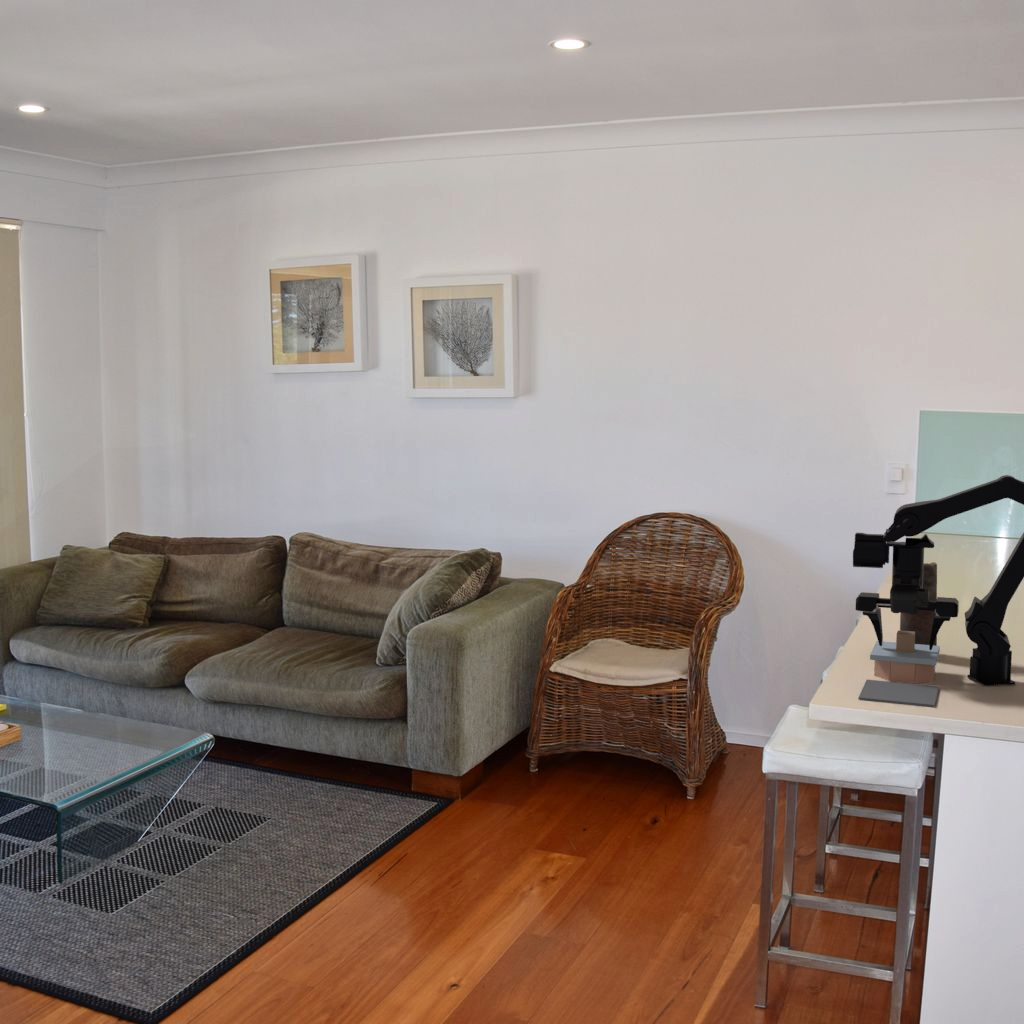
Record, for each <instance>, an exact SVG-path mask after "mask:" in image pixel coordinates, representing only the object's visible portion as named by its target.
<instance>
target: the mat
mask: <svg viewBox="0 0 1024 1024" xmlns="http://www.w3.org/2000/svg"><path fill="white" fill-rule="evenodd" d="M938 691H939V685H930V684H921V683H907V682H896V681H889V680H875V679H866V680H865V683H864V685H863V687H862V689H861V691H860V693H859V695H858V700H859V699H860V701H870V702H879V703H880V702H881V703H891V704H900V705H909V706H919V707H920V706H921V707H931V708H935V706H936V701H937V698H938Z"/></svg>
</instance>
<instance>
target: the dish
mask: <svg viewBox="0 0 1024 1024" xmlns="http://www.w3.org/2000/svg"><path fill="white" fill-rule="evenodd" d="M873 671H874V676H876V677H878V678H880V679H884V680H885V681H888V682H899V683H910V684H921V683H927V681H928V682H932V681H933V682H934V680H935V677H936V665H927V664H915V663H903V662H892V661H880V660H874V669H873Z"/></svg>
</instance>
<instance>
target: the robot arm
mask: <svg viewBox="0 0 1024 1024" xmlns="http://www.w3.org/2000/svg"><path fill="white" fill-rule="evenodd" d="M1003 499H1009V500H1012V501H1014V502H1017V503H1019V504H1021V505H1023V506H1024V481H1022V480H1019V479H1017V478H1015V477H1014V476H1013V475H1010V474H1009V475H1008V474H1004V475H1002V476H1000V477H998V478H997V479H993V480H991V481H990V480H989V481H987V482H984V483H982V484H979V485H976V486H973V487H970V488H968V489H965V490H962V491H959V492H956V493H953V494H951V495H947V496H945V497H941V498H938V499H932V500H926V501H924V500H923V501H916V502H911V503H906V504H903V505H901V506H900V507H898V508H897V509H896V511H895V513H894V516H893V522H892V524H891V525H890V526H889V527H888V528H886V529H885V532H884V533H881V534H880V533H879V534H878V533H864V532H855V534H854V543H853V544H854V547H853V550H852V567H853V568H871V569H876V568H877V569H883V568H884V566H885V565H886V564H889V563H890V547H892V571H891V572H892V573H891V575H892V576H891V587H890V591H889V598H886V597H885V598H884V597H880V593H877V592H864V591H861V592H860V593H859V594H858V595H857V597H856V598H855V611H858V612H862V616H867V617H868V619H869V620H870V621H871V622H870V623H871V624H872V626H873V629H874V632H875V635H876V638H877V641H878V642H879V645H880V646H882V642H884V640H883V639H884V637H883V624H882V623H883V622H882V609H881V608H883V609H884V608H885V609H886V608H887V609H890V612H891V613H893V614H900V613H908V614H916V613H917V611H918V610H927V611H935V615H934V620H933V626H932V631H931V637H930V643H929V650H932V647H933V645H934V642H935V639H936V636H937V637H938V633H939V631H940V629H941V628H942V626H943V624H944V623H945V622H950V621H951V619H952V618H958V616H959V608H960V607H959V606H960V605H959V604H960V601H959V600H958V599H957V598H956V597H942V596H937V600H936V601H929V589H924V588H923V568H924V564H925V562H924V561H925V549H934V548H935V542H934V541H932V539H931V538H929V536H928V534H927V533H925V534H924V535H923V536H922V537H916V536H917V535H919V534H922V533H924V532H925V531H926V530H928V529H931V528H932V527H934V526H935V525H937V524H938V523H940V522H942V521H944V520H946V519H947V518H948V519H949V518H951V517H955V516H957V515H960V514H963V513H966V512H968V511H972V510H975V509H978V508H980V507H984V506H987V505H989V504H993V503H995V502H998V501H1001V500H1003ZM904 537H905V541H899V540H900V539H902V538H904ZM1023 579H1024V532H1023V533H1022V534H1021V535H1020V538H1019V540H1018V542H1017V543H1016V545H1015V546H1014V549H1013V550H1012V552H1011V553H1010V555H1009V557H1008V559H1007V561H1006V562H1005V564H1004V566H1003V567H1002V569H1001V571H1000V573H999V574H998V576H997V578H996V580H995V581H994V583H993V585H992V586H991V588H990V590H989V592H987V594H986V595H985V596H984V597H982V599H980V598H978V597H977V596H974V598H973V599H972V602H971V605H970V607H969V608H968V610H966V611H965V612H964V619H965V620H964V621H965V623H964V624H965V626H964V627H965V632H966V635H967V638H969V640H970V641H971V642H972V643H974V644H976V646H977V647H973V648H972V656H970V658H969V674H967V678H968V679H969V680H972V681H973V682H975V683H978V684H980V685H981V686H983V687H984V686H985V687H986V686H989V687H990V686H991V687H992V686H1008V685H1010V686H1011V685H1016V681H1015V680H1012V677H1011V676H1012V659H1013V658H1012V654H1013V651H1012V650H1010V649H1011V647H1012V646H1011V643H1010V640H1009V637H1008V634H1006V633H1005V632H1004V631H1003V630H1002V626H1003V623H1004V620H1005V616H1006V613H1007V609H1008V605H1009V604H1010V603H1011V601H1012V598H1013V597H1014V595H1015V593H1016V592H1017V590H1018V588H1019V586H1020V584H1021V583H1022V581H1023Z"/></svg>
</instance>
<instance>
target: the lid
mask: <svg viewBox="0 0 1024 1024" xmlns="http://www.w3.org/2000/svg"><path fill="white" fill-rule="evenodd" d="M895 641H896V642H894V641H883V642H882V646H880V645H879V642H878V640H876V641H875V643H874V646H873V647H872V650H871V652H870V654H869V660H872V661H875V660H880V661H892V662H903V663H915V664H927V665H935V666H937V663H938V660H939V659H938V658H939V653H940V651H941V650H940V647H941V646H939V645H937V646H934V645H933V647H932V650H929V645H921V644H915V632H913V631H900V629H899V630H897V633H896V639H895Z"/></svg>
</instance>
